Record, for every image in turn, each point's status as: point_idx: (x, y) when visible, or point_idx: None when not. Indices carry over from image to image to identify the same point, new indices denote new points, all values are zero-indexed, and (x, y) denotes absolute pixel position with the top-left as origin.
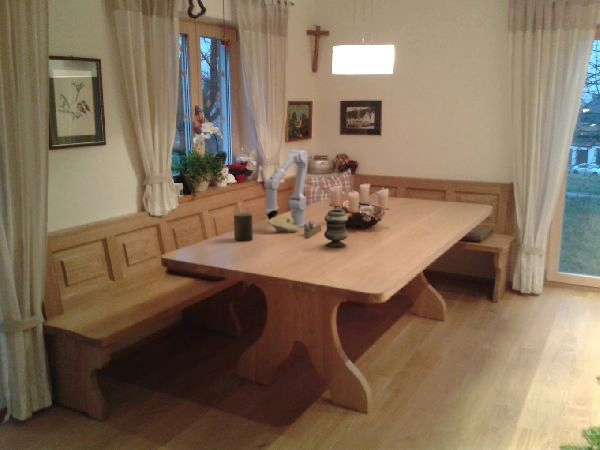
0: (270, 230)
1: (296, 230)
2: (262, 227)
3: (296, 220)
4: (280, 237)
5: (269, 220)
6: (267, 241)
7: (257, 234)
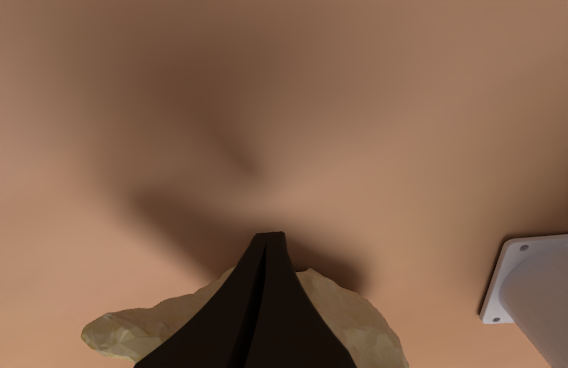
0: (279, 183)
1: None
2: (381, 14)
3: (534, 339)
4: None
5: (103, 352)
6: (4, 314)
7: (74, 163)
